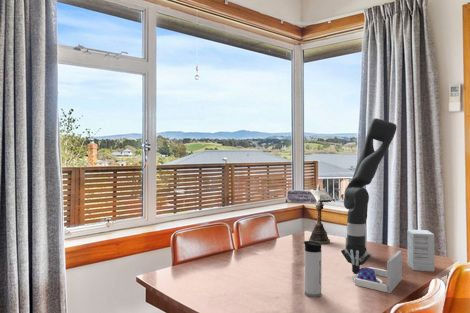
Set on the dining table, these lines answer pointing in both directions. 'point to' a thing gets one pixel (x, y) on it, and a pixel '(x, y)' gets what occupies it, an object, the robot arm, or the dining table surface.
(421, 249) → the supplement box
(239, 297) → the dining table surface
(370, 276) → the blue checkered hat
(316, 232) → the brown tall flared piece
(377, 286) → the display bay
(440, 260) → the dining table surface
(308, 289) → the travel mug
